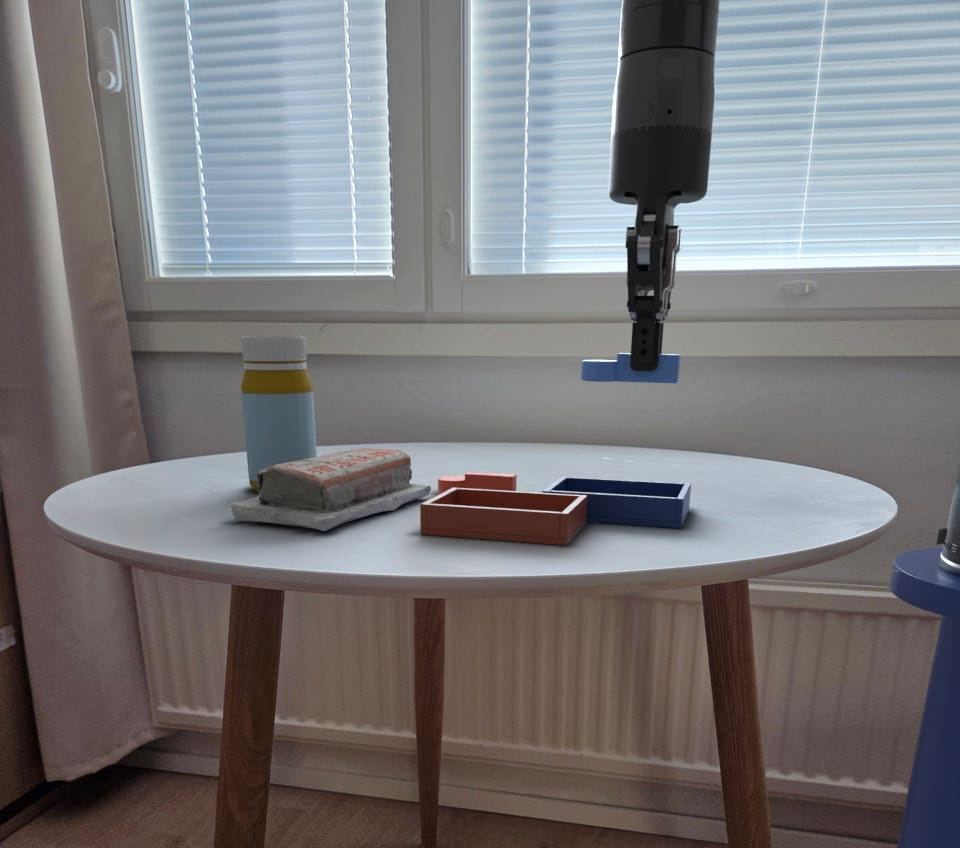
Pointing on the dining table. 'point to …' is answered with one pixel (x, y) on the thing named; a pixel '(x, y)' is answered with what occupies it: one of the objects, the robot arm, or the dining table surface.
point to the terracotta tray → (504, 515)
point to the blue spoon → (624, 373)
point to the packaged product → (331, 489)
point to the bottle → (276, 402)
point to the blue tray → (629, 500)
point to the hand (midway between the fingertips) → (645, 369)
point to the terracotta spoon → (478, 481)
